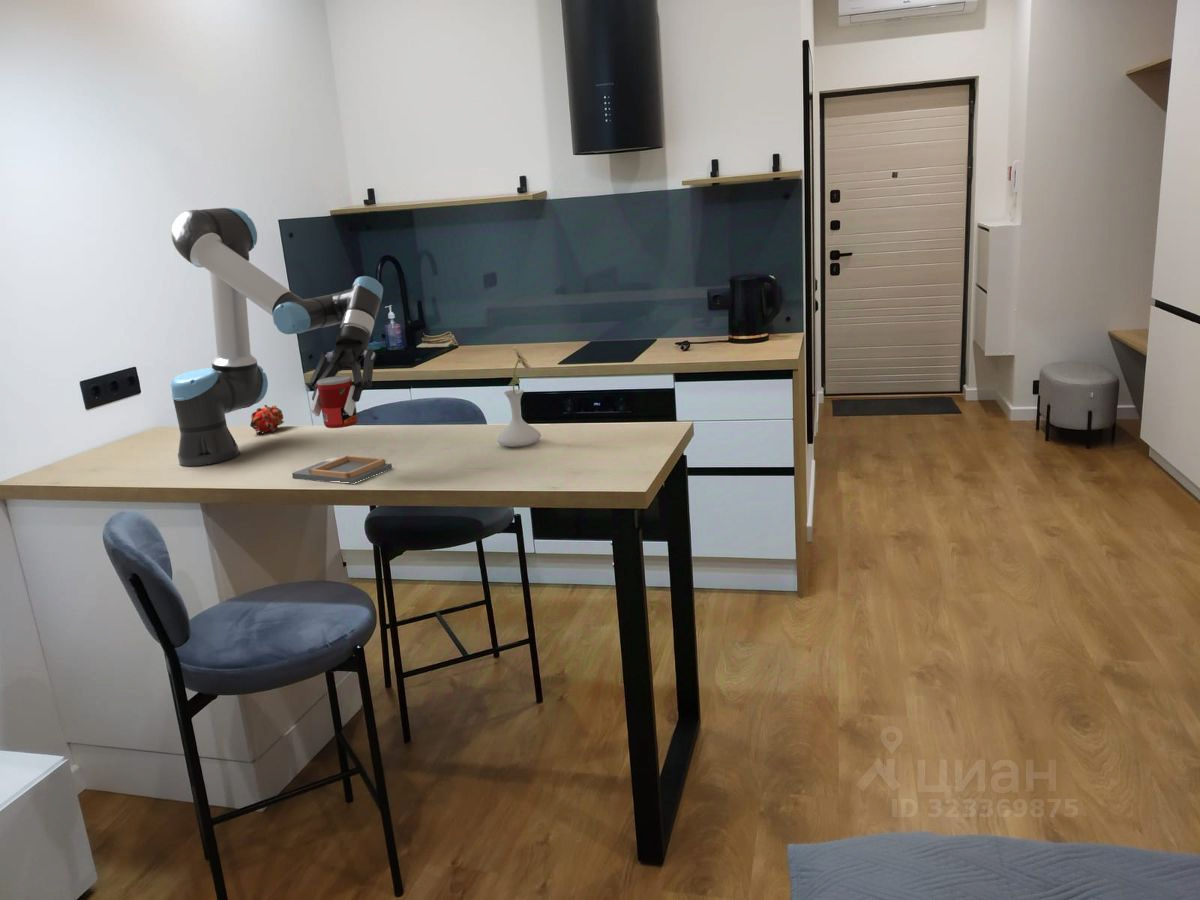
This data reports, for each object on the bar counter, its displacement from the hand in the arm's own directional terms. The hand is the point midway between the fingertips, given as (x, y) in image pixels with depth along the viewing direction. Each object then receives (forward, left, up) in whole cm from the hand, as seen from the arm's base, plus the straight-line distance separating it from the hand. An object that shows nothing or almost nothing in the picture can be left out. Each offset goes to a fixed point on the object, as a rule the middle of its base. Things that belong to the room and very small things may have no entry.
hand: (331, 412), depth 216 cm
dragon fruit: (-61, +31, -16) cm, 71 cm away
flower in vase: (+26, +37, -16) cm, 48 cm away
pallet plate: (-3, +3, -16) cm, 16 cm away
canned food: (-1, +3, -4) cm, 5 cm away
